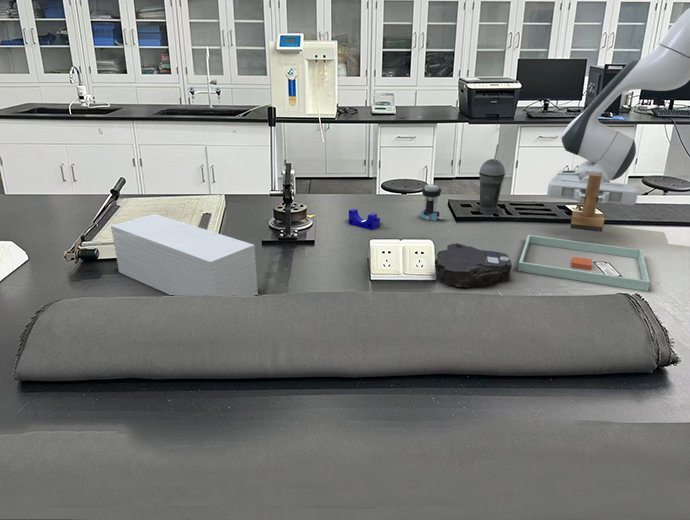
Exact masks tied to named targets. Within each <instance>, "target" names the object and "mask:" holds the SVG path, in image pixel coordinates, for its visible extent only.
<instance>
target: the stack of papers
mask: <svg viewBox="0 0 690 520" xmlns="http://www.w3.org/2000/svg"><path fill="white" fill-rule="evenodd" d="M110 229H111V233H112V239H113V246H114V251H115V256H116V263H117V268H118V273H119V274H122V275H124V276H126V277H128V278H131V279H133V280H135V281H138V282H140V283H142V284H144V285H146V286H148V287H151V288H153V289H155V290H158V291H160V292H162V293H165V294H167V295H169V296H171V295H238V296H254V295H257V296H258V295H259V292H258V290H259V289H258V277H257V264H256V263H257V262H256V260H257V259H256V250H255V249H256V247H255V246H256V245H255V244H253V243H250V242H247V241H244V240H240V239H237V238H234V237H231V236H227V235H224V234H221V233H217V232H215V231H212V230H208V229H206V228H202V227H199V226H196V225H192V224H189V223H186V222H183V221H180V220H176V219H173V218H170V217H167V216H163V215H160V214H157V213H153V214H149V215H145V216H141V217H137V218H134V219H130V220H127V221H123V222H120V223H115V224H113V225H110Z"/></svg>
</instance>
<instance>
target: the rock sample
mask: <svg viewBox="0 0 690 520" xmlns="http://www.w3.org/2000/svg"><path fill="white" fill-rule="evenodd" d="M436 256H437V257H436V258H435V260H434V268H435V269H436V274H437V279H438V280H439V281H440V282H443V283H445V284H447V286H448V285H449V286H451V287H457V288H464V289H465V288H467V289H468V288H474V287H477V288H482V287H489V286H493V285H495V283H504V282H508V281H509V279H510V275H511V270H512V267H513V264H512V259H511V258H510V256H509V254H507V253H504V252H502V251H501V252H500V251H494V250H484V249H479V248H476V247H474V246H470V245H466V244H461V243H458V242H456V243H451V244H448V245H447V249H444V250H439V252H437V254H436Z"/></svg>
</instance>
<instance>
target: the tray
mask: <svg viewBox="0 0 690 520" xmlns="http://www.w3.org/2000/svg"><path fill="white" fill-rule="evenodd" d="M524 242H525V243H524V245H523V249H522V251H521V254H520V258H519V261H518V265H517V272H524V273H530V274H536V275H543V276H550V277H555V278H561V279H569V280H575V281H582V282H587V283H592V284H600V285H606V286H612V287H613V286H614V287H619V288H626V289H631V290H632V289H633V290H637V291H638V290H639V291H646V292H648V291H649V288H650V284H651V281H650V280H651V279H650V276H649V271H648V268H647V264H646V260H645V259H646V258H645V254H644V252H643V251H644V250H643V249H639V248H632V247H624V246H616V245H609V244H602V243H601V244H600V243H593V242H586V241H577V240H570V239H563V238H557V237H556V238H555V237H548V236H541V235H534V234H533V235H532V234H528V235H527V237H526V239H525V241H524ZM531 244H533V245H540V246H547V247H554V248H561V249H567V250H568V249H570V250H575V251H582V252H590V253H597V254H606V255H612V256H620V257H626V258H635V259H637V260H638V267H639V269H640V275H641V279H639V278H632V277H624V276H618V275H613V274H612V275H611V274H605V273H599V272H598V273H597V272H592V271H586V270H580V269H579V270H578V269H573V268H572V269H571V268H566V267H558V266H551V265H546V264H545V265H544V264H539V263H532V262H525V259H526V254H527V251H528V248H529V245H531Z"/></svg>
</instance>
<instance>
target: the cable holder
mask: <svg viewBox="0 0 690 520" xmlns="http://www.w3.org/2000/svg"><path fill="white" fill-rule="evenodd" d="M358 211H359V210H358V209H357V208H351V209H349V210H348V225H350V226H355V227H359V228H363V229H367V230H371V231H374V230H375V229H378V228H380V227H381V218H380V217H378V213H375V212H371V213H369V214H368V215H367V218H366V219H363V218H362V217H361V216H360V215H359V212H358Z"/></svg>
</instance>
